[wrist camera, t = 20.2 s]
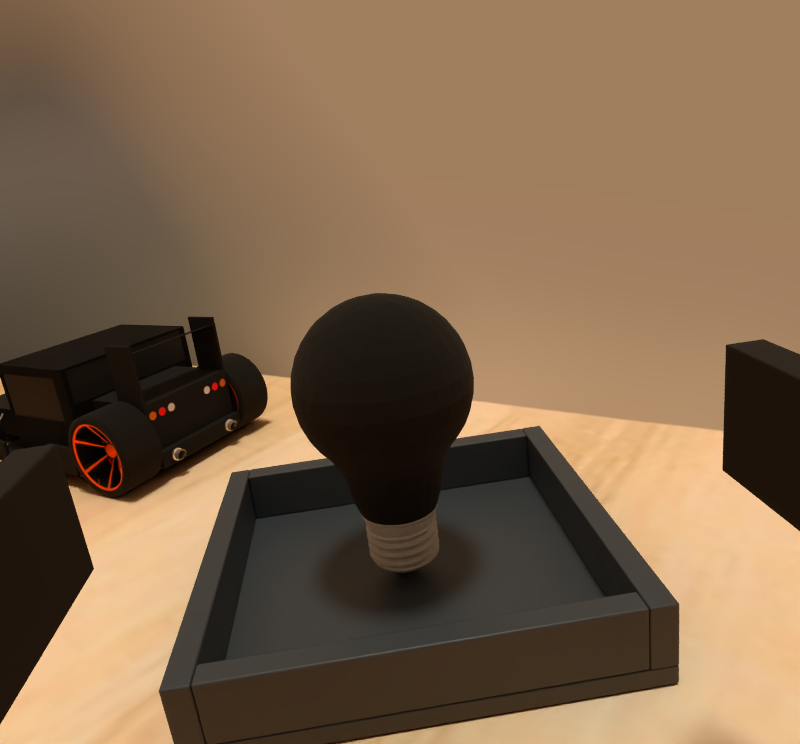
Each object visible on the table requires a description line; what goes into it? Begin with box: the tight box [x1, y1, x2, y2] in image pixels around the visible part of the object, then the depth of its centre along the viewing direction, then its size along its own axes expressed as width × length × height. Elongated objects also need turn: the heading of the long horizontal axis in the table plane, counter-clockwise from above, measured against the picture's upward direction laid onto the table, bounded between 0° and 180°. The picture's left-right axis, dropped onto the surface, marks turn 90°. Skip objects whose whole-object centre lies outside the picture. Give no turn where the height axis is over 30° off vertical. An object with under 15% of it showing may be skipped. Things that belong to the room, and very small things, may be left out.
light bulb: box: [291, 293, 474, 576], centre depth 22 cm, size 6×6×10 cm
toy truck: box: [0, 317, 268, 497], centre depth 41 cm, size 10×20×7 cm, turn 60°
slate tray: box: [159, 426, 679, 744], centre depth 24 cm, size 14×13×3 cm
